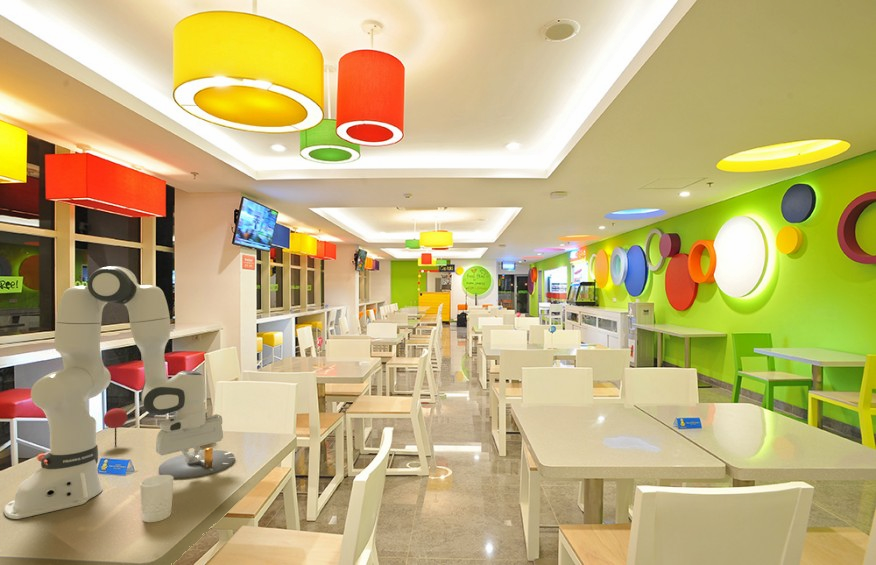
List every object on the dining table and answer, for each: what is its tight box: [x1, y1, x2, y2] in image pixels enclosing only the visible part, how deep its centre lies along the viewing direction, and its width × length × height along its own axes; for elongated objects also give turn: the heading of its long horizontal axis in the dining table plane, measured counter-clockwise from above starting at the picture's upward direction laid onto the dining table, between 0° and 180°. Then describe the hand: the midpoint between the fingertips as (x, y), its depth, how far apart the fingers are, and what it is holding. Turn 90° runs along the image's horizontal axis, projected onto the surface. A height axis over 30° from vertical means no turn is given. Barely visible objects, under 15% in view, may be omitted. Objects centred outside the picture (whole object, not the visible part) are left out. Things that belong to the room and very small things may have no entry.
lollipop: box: [103, 407, 128, 447], centre depth 188 cm, size 8×8×15 cm
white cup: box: [139, 474, 174, 523], centre depth 129 cm, size 8×8×10 cm
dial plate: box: [158, 449, 235, 480], centre depth 166 cm, size 24×24×1 cm
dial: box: [187, 447, 214, 468], centre depth 164 cm, size 14×7×6 cm, turn 49°
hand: (191, 461), depth 156 cm, fingers closed
